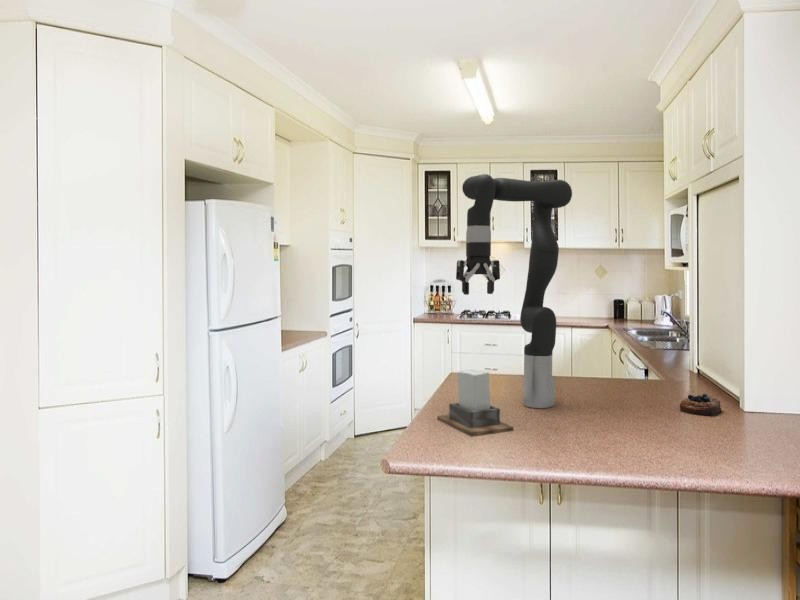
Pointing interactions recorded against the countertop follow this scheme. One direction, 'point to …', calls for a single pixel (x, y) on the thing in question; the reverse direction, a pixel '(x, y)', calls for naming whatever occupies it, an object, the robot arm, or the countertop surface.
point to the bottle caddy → (475, 420)
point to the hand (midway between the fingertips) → (478, 294)
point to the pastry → (700, 405)
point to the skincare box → (474, 390)
